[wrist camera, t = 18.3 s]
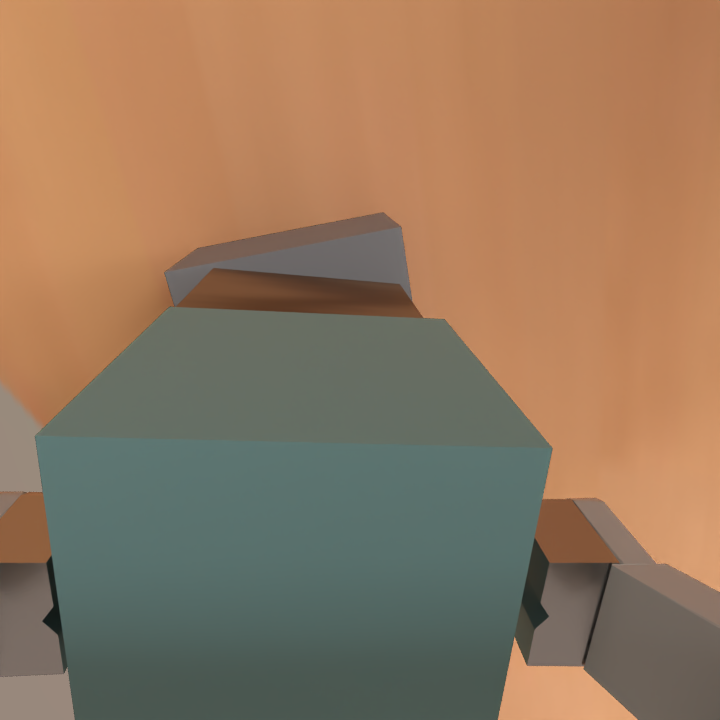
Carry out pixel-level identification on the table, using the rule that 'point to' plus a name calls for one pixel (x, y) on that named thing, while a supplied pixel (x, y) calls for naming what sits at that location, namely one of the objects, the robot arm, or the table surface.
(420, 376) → the teal cube
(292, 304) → the walnut cube
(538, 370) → the table surface
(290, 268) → the grey base block
